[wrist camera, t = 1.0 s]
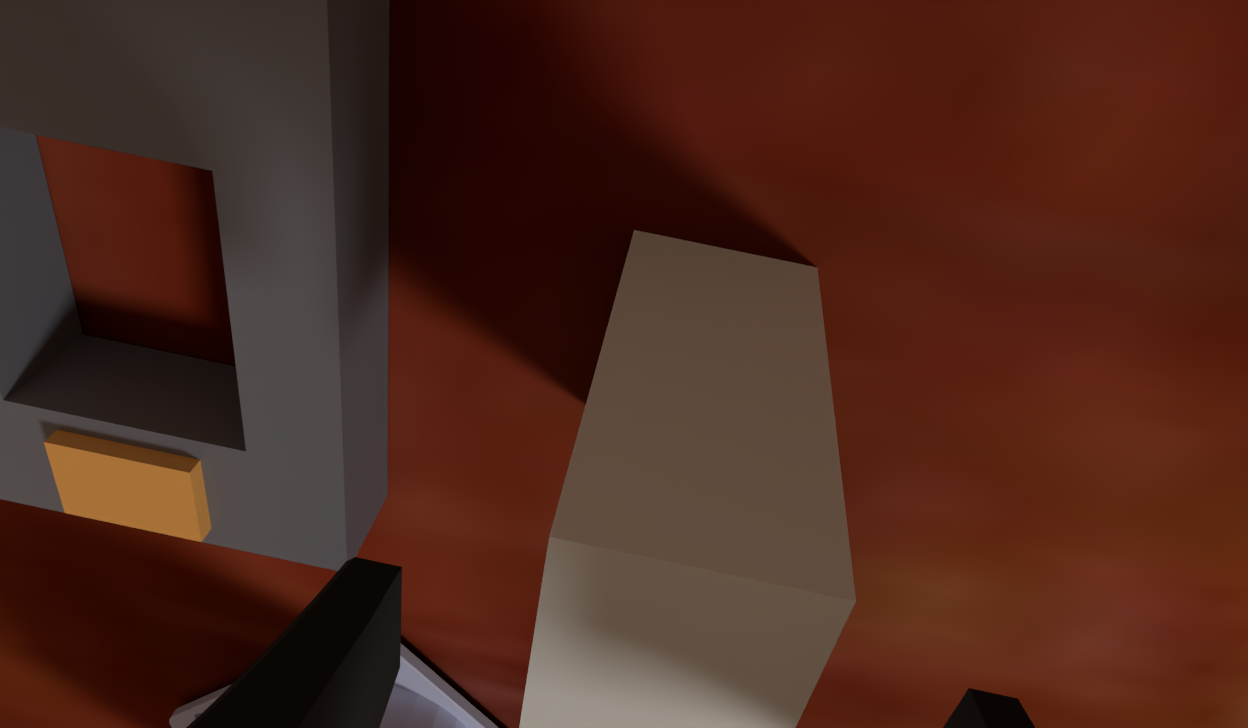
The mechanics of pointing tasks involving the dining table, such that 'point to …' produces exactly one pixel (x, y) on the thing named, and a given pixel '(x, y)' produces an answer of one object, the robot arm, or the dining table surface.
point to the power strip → (253, 265)
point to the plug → (697, 505)
